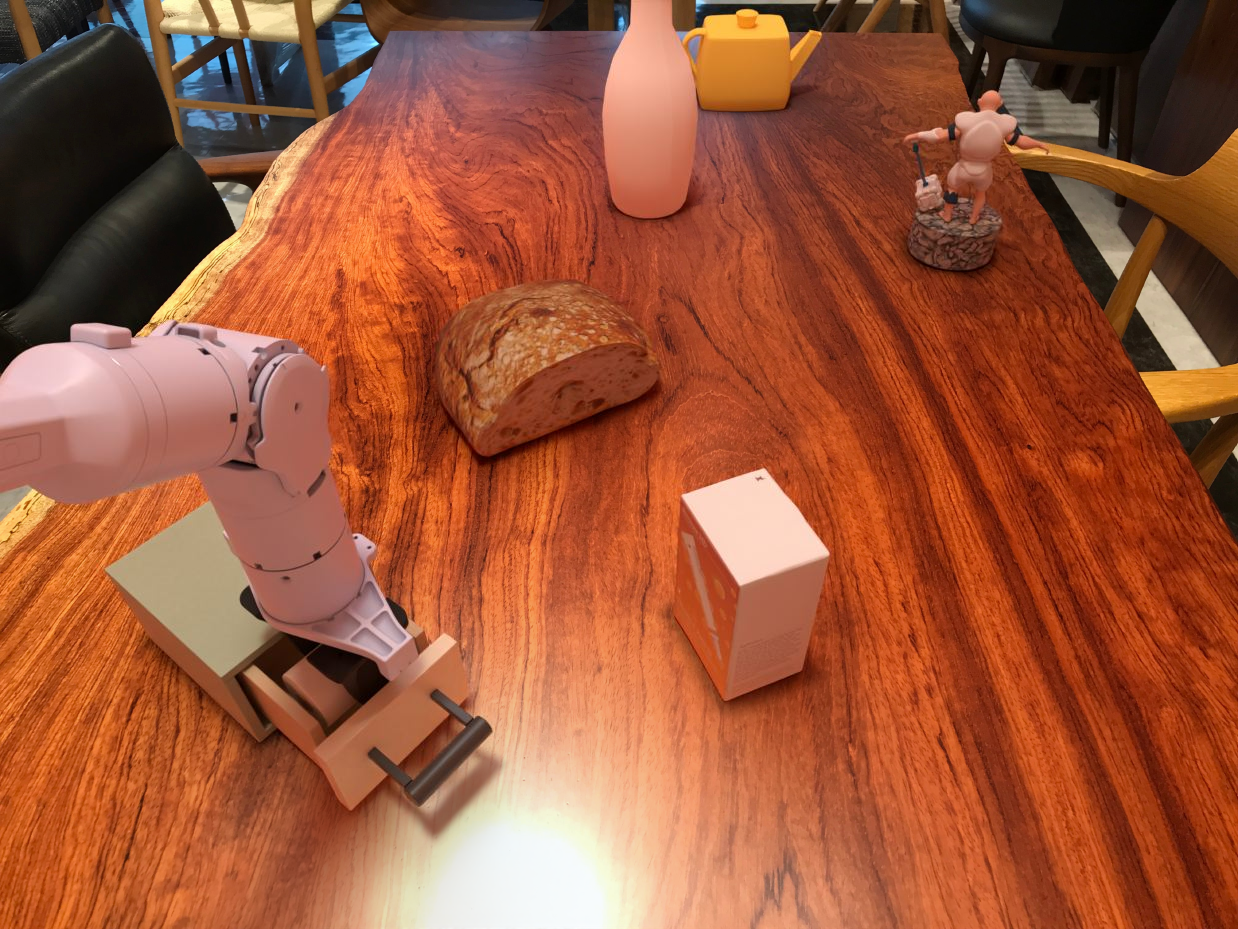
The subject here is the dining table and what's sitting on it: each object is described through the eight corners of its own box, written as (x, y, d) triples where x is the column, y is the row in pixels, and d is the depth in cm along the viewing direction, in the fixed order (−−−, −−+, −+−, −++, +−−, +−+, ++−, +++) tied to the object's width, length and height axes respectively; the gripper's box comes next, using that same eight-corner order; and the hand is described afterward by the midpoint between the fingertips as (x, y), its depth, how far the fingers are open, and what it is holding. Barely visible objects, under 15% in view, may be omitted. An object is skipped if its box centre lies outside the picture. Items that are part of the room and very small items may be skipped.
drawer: (522, 734, 57) (512, 682, 53) (402, 860, 51) (381, 814, 47) (351, 602, 65) (331, 547, 60) (231, 699, 59) (199, 647, 55)
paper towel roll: (365, 620, 59) (408, 663, 58) (281, 690, 55) (327, 737, 55) (367, 595, 56) (413, 640, 55) (278, 667, 52) (326, 717, 51)
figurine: (1012, 238, 102) (1065, 79, 89) (1019, 278, 96) (1077, 114, 83) (882, 226, 104) (916, 70, 92) (882, 264, 98) (918, 103, 86)
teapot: (807, 79, 137) (818, -4, 128) (819, 112, 128) (832, 25, 119) (678, 80, 137) (681, -2, 129) (681, 113, 128) (684, 27, 120)
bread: (472, 471, 76) (455, 380, 69) (413, 355, 87) (394, 267, 80) (682, 403, 82) (687, 313, 75) (601, 303, 94) (598, 217, 87)
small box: (671, 615, 65) (677, 492, 55) (747, 587, 66) (765, 464, 57) (723, 705, 59) (739, 586, 50) (804, 673, 61) (834, 552, 52)
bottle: (669, 232, 104) (677, -2, 86) (587, 211, 108) (578, -17, 90) (708, 192, 111) (722, -32, 93) (629, 173, 115) (629, -45, 97)
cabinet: (393, 629, 64) (370, 559, 59) (260, 743, 58) (220, 677, 52) (280, 543, 70) (250, 472, 65) (149, 637, 64) (103, 569, 58)
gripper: (442, 548, 45) (476, 690, 54) (270, 431, 51) (327, 576, 61) (331, 639, 41) (388, 775, 51) (161, 500, 48) (239, 644, 57)
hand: (349, 672), depth 55 cm, fingers closed on paper towel roll, 4 cm apart
